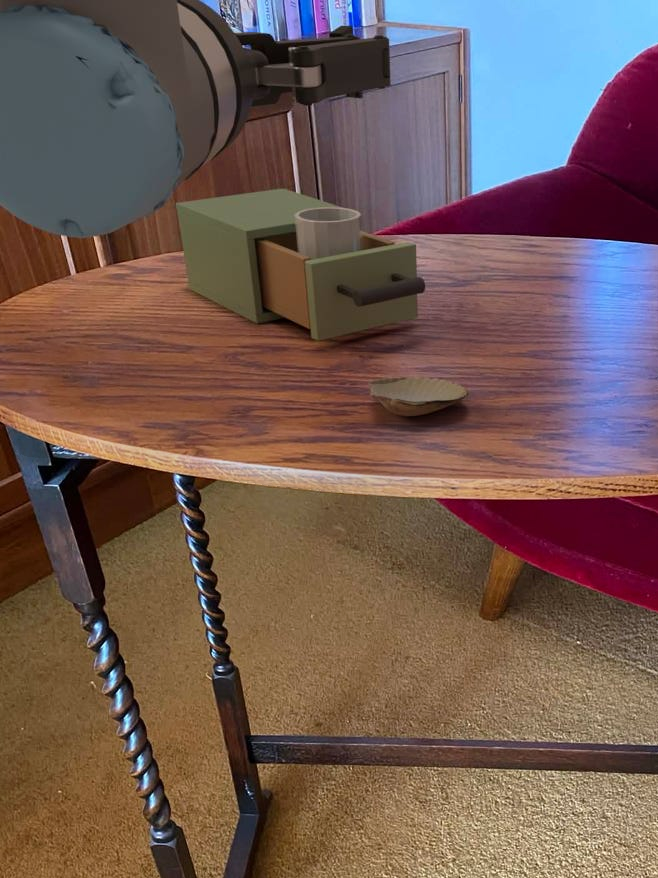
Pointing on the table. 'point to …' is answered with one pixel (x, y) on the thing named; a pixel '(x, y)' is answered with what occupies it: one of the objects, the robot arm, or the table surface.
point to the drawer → (339, 285)
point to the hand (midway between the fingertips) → (245, 47)
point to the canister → (328, 232)
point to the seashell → (416, 394)
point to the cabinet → (235, 244)
